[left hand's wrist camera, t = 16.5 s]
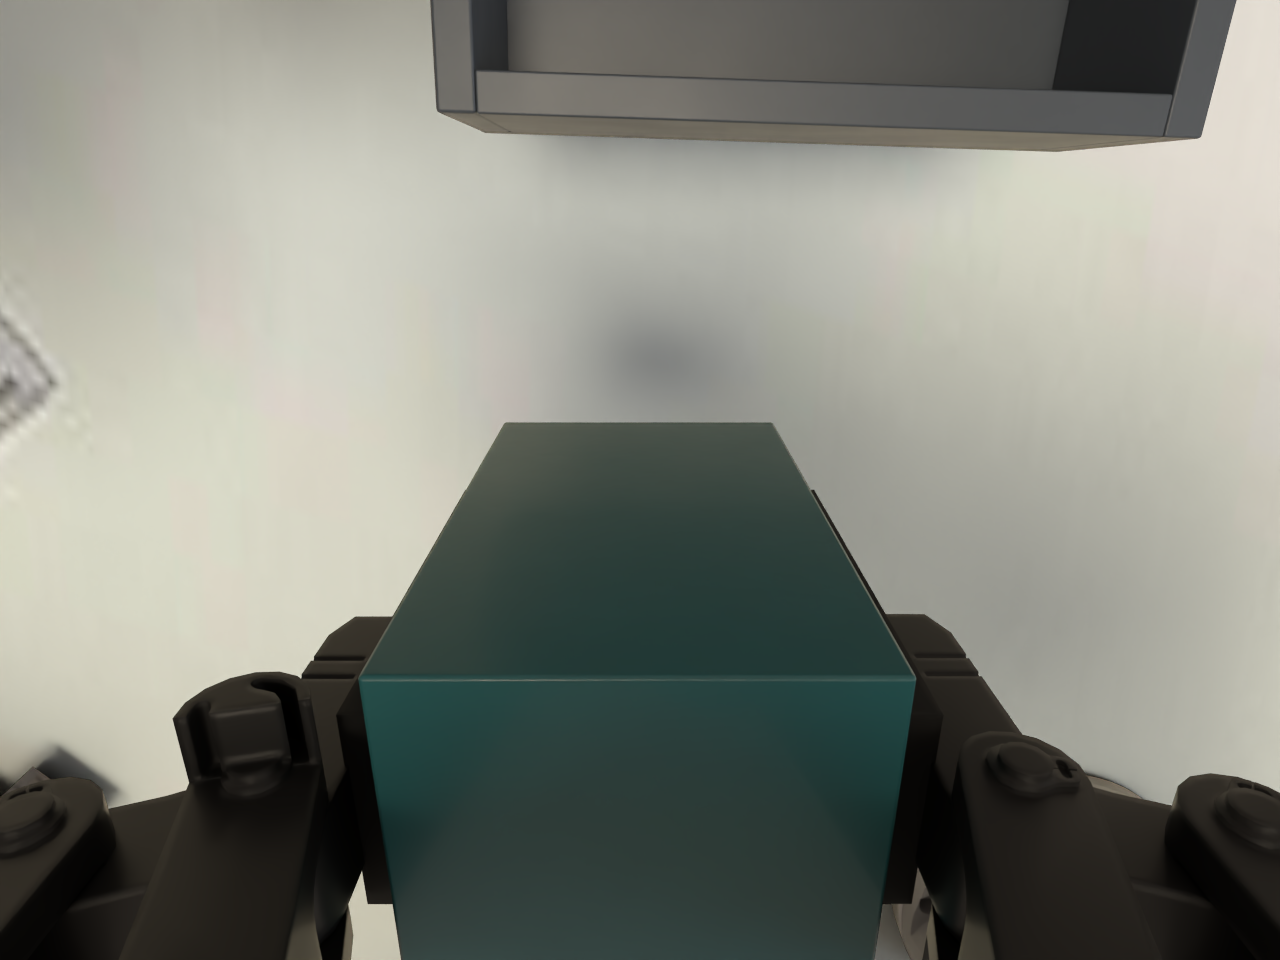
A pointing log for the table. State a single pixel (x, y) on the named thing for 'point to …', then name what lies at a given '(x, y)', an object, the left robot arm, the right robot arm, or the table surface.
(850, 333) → the table surface
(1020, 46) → the tray
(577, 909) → the teal block
